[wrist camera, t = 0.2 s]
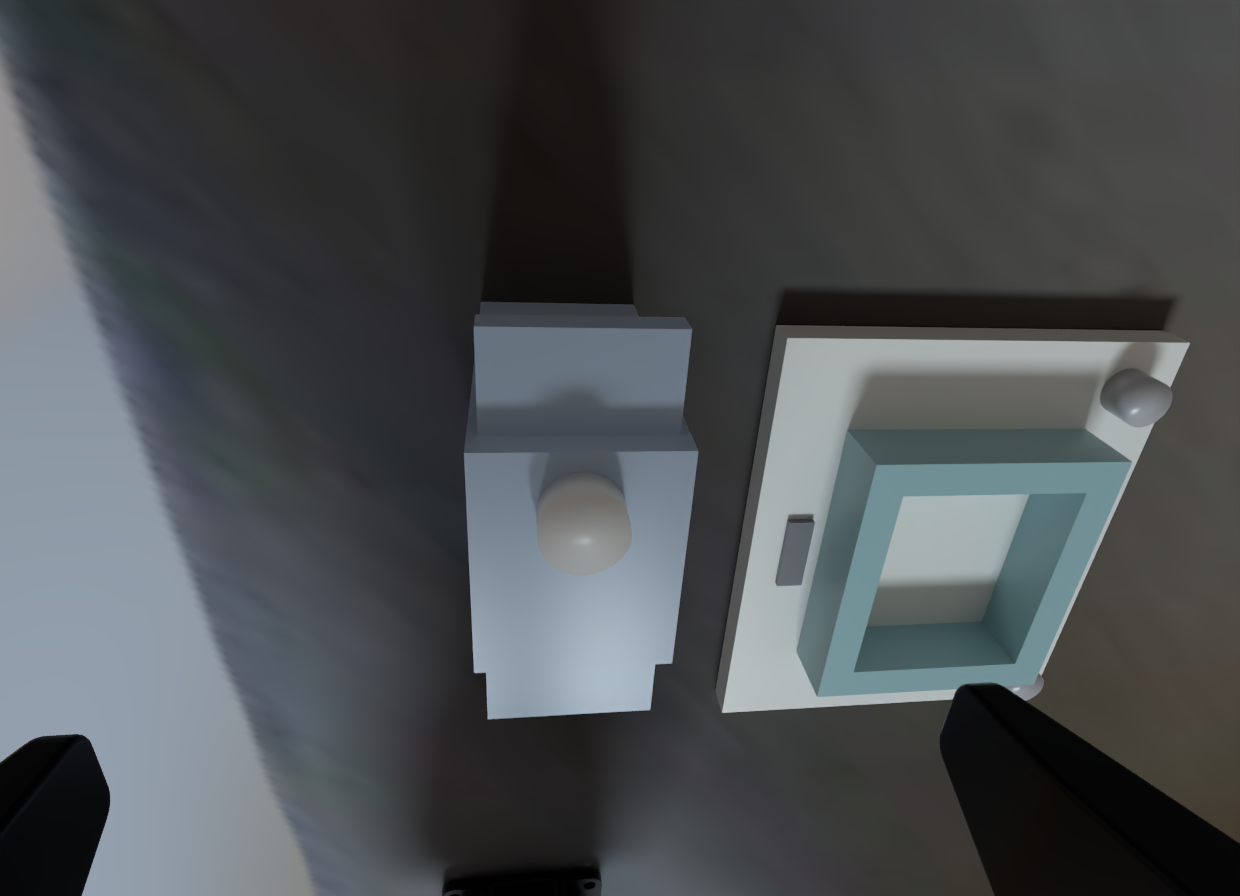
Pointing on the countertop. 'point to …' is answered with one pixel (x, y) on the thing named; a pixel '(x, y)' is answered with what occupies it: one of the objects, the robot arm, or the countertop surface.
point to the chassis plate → (929, 506)
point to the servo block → (576, 503)
